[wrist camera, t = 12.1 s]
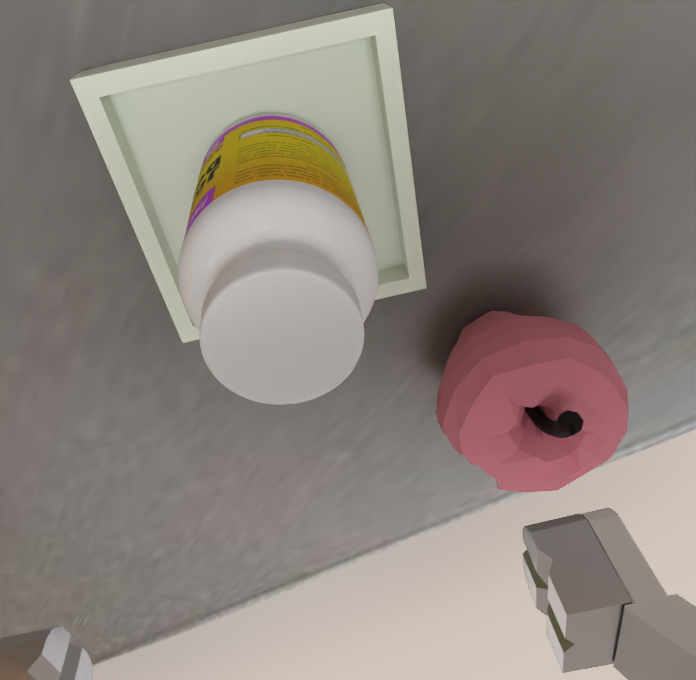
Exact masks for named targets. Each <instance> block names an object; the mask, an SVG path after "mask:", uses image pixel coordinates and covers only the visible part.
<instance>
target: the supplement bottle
mask: <svg viewBox="0 0 696 680" xmlns="http://www.w3.org/2000/svg"><path fill="white" fill-rule="evenodd" d="M378 277H379V276H378V261H377V256H376V252H375V249H374V245H373V242H372V239H371V236H370V234H369V231H368V229H367V226H366V224H365V221H364V218H363V215H362V213H361V210H360V207H359V204H358V201H357V198H356V196H355V193H354V190H353V187H352V184H351V182H350V178H349V175H348V173H347V170H346V168H345V165H344V163H343V160H342V158H341V156H340V154H339V152H338V151H337V149H336V147H335V146H334V145H333V143H332V142H331V141H330V139H329V138H328V137H327V136H326V135H325V134H323V133H322V132H321V131H320V130H319V129H318V128H316V127H315V126H313V125H311V124H310V123H308V122H306V121H304V120H302V119H300V118H297V117H294V116H290V115H285V114H277V113H266V114H258V115H254V116H250V117H247V118H244V119H242V120H239V121H238V122H236V123H234V124H232V125H231V126H229V127H228V128H227V129H225V130H224V131H223V132H222V133H221V134H220V135H219V136H218V137H217V138H216V139H215V140H214V142H213V143H212V145H211V146H210V148H209V149H208V151H207V153H206V155H205V158H204V160H203V164H202V166H201V170H200V174H199V178H198V182H197V186H196V190H195V193H194V198H193V203H192V206H191V210H190V215H189V220H188V224H187V228H186V233H185V237H184V241H183V245H182V249H181V253H180V258H179V265H178V283H179V291H180V295H181V299H182V302H183V305H184V307H185V309H186V312H187V314H188V315H189V317H190V319H191V321H192V322H193V324H194V325H195V326H196V328H197V329H198V330H199V332H200V339H199V341H200V347H201V351H202V355H203V358H204V360H205V362H206V364H207V366H208V368H209V370H210V371H211V372H212V374H213V375H214V376H215V377H216V379H217V380H218V381H219V382H220V383H221V384H223V385H224V386H225V387H226V388H228V389H229V390H231V391H233V392H234V393H236V394H238V395H240V396H242V397H244V398H247V399H250V400H252V401H256V402H260V403H266V404H274V405H276V404H295V403H301V402H305V401H308V400H312V399H315V398H317V397H319V396H322V395H324V394H326V393H328V392H329V391H331V390H332V389H334V388H336V387H337V386H338V385H339V384H340V383H342V382H343V381H344V380H345V379H346V378H347V377H348V376H349V374H350V373H351V372H352V371H353V369H354V368H355V366H356V364H357V362H358V360H359V358H360V355H361V353H362V350H363V344H364V324H363V323H364V322H365V320H366V318H367V317H368V315H369V313H370V311H371V309H372V306H373V304H374V301H375V297H376V293H377V287H378Z"/></svg>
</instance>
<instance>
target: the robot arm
mask: <svg viewBox="0 0 696 680" xmlns="http://www.w3.org/2000/svg"><path fill="white" fill-rule="evenodd" d="M523 541H524V543H525V545H526V548H527V550H526V551H525V552H524V553H523V566H524V571H525V576H526V581H527V583H528V587H529V590H530V593H531V596H532V598H533V601H534V603H535V606H536V608H537V609H538V610H540V611H541V612H542V613H544V614H545V615H546V616H547V636H548V638H549V641H550V643H551V645H552V648H553V650H554V653H555V655H556V658H557V660H558V662H559V665H560V667H561V670H562V672H563V673H565V672H570V671H575V670H580V669H587V668H592V667H598V666H603V665H608V664H614V667H615V668H616V669H617V670H618V671H619V672H620V673H621V674H622V675H624V676H625V677H626V678H627V679H628V680H696V607H695V606H694V605H692V604H691V603H689V602H688V601H686V600H685V599H683V598H682V597H680V596H678V595H677V594H676V595H669V596H667V594H666V592H665V591H664V589H663V587H662V586H661V584H660V583H659V581H658V579H657V578H656V576H655V574H654V573H653V571H652V569H651V568H650V566H649V564H648V563H647V561H646V560H645V558H644V556H643V555H642V553H641V551H640V550H639V548H638V547H637V545H636V543H635V542H634V540H633V538H632V537H631V535H630V533H629V532H628V530H627V529H626V527H625V525H624V524H623V522H622V520H621V519H620V517H619V516H618V514H617V513H616V512H615V511H614V510H612V509H610V508H605V509H601V510H596V511H592V512H588V513H583V514H575V515H571V516H567V517H562V518H559V519H554V520H549V521H545V522H541V523H537V524H532V525H528V526H525V527H524V528H523ZM70 637H71V634H70V633H69V632H68V631H67V630H66V629H65V628H64V627H63V626H57V627H52V628H47V629H42V630H38V631H33V632H28V633H23V634H18V635H14V636H9V637H1V638H0V680H93V666H92V663H91V660H90V657H89V655H88V654H87V652H86V651H85V650H84V649H83V648H82V647H79V646H76V645H73V644H70V643H69V641H70Z"/></svg>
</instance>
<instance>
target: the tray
mask: <svg viewBox="0 0 696 680" xmlns="http://www.w3.org/2000/svg"><path fill="white" fill-rule="evenodd" d="M70 82H71V84H72V86H73V89H74V91H75V93H76V96H77V98H78V100H79V103H80V105H81V107H82V110H83V112H84V114H85V117H86V119H87V121H88V124H89V126H90V128H91V131H92V133H93V135H94V138H95V140H96V142H97V145H98V147H99V149H100V152H101V154H102V156H103V159H104V161H105V163H106V166H107V168H108V170H109V173H110V175H111V177H112V180H113V182H114V184H115V187H116V189H117V191H118V194H119V196H120V198H121V201H122V203H123V205H124V208H125V210H126V212H127V215H128V217H129V219H130V222H131V224H132V226H133V229H134V231H135V233H136V236H137V238H138V240H139V243H140V245H141V247H142V250H143V252H144V254H145V257H146V259H147V261H148V264H149V266H150V268H151V271H152V273H153V275H154V278H155V280H156V282H157V285H158V287H159V289H160V292H161V294H162V296H163V299H164V301H165V303H166V306H167V308H168V310H169V312H170V315H171V317H172V319H173V322H174V324H175V326H176V329H177V331H178V333H179V336H180V338H181V340H182V343H185V342H189V341H194V340H198V339H200V332H199V330H198V329H197V328H196V326H195V325H194V324H193V322H192V321H191V319H190V317H189V315H188V314H187V312H186V309H185V307H184V305H183V302H182V299H181V295H180V291H179V283H178V265H179V258H180V253H181V249H182V245H183V241H184V237H185V233H186V228H187V224H188V220H189V215H190V210H191V206H192V203H193V198H194V193H195V190H196V186H197V182H198V178H199V174H200V170H201V166H202V164H203V160H204V158H205V155H206V153H207V151H208V149H209V148H210V146H211V145H212V143H213V142H214V140H215V139H216V138H217V137H218V136H219V135H220V134H221V133H222V132H223V131H224V130H225V129H227V128H228V127H229V126H231V125H232V124H234V123H236V122H238V121H239V120H242V119H244V118H247V117H250V116H254V115H258V114H266V113H277V114H285V115H290V116H294V117H297V118H300V119H302V120H304V121H306V122H308V123H310V124H311V125H313V126H315V127H316V128H318V129H319V130H320V131H321V132H322V133H323V134H325V135H326V136H327V137H328V138H329V139H330V141H331V142H332V143H333V145H334V146H335V147H336V149H337V151H338V152H339V154H340V156H341V158H342V160H343V163H344V165H345V168H346V170H347V173H348V175H349V178H350V182H351V184H352V187H353V190H354V193H355V196H356V198H357V201H358V204H359V207H360V210H361V213H362V215H363V218H364V221H365V224H366V226H367V229H368V231H369V234H370V236H371V239H372V242H373V245H374V249H375V252H376V256H377V261H378V276H379V277H378V287H377V293H376V297H375V300H377V299H382V298H386V297H391V296H395V295H400V294H404V293H409V292H413V291H417V290H422V289H426V288H427V287H426V279H425V271H424V263H423V254H422V246H421V238H420V229H419V221H418V213H417V204H416V196H415V188H414V179H413V171H412V163H411V155H410V146H409V138H408V130H407V121H406V113H405V105H404V96H403V88H402V80H401V71H400V63H399V55H398V47H397V38H396V30H395V22H394V13H393V7H391V6H389V5H387V4H385V3H380V4H375V5H371V6H367V7H362V8H358V9H353V10H349V11H344V12H340V13H335V14H331V15H326V16H322V17H318V18H313V19H309V20H304V21H300V22H295V23H291V24H286V25H282V26H277V27H273V28H268V29H264V30H260V31H255V32H251V33H246V34H242V35H237V36H233V37H228V38H224V39H219V40H215V41H211V42H206V43H202V44H197V45H193V46H188V47H184V48H179V49H175V50H170V51H166V52H161V53H157V54H153V55H148V56H144V57H139V58H135V59H130V60H126V61H121V62H117V63H112V64H108V65H104V66H99V67H95V68H90V69H86V70H82V71H81V72H80V73H78V74H77V75H76V76H74V77H73V78H72V79H71V80H70Z"/></svg>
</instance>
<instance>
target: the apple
mask: <svg viewBox="0 0 696 680" xmlns="http://www.w3.org/2000/svg"><path fill="white" fill-rule="evenodd" d="M436 413H437V418H438V423H439V425H440V427H441V429H442V431H443V433H444V434H445V435H446V436H447V438H448V439H449V441H450V442H451V444H452V445H453V448H454V450H456V451H458V452H460V454H461V455H462V456H463V457H465V458H467V459H468V460H469V461H470V463H471V464H474V465H478V466H480V467H482V468H483V469H484V471H485V473H486V475H491V476H492V477H494V478H495V479H496V481H497V489H500V490H510V491H520V492H536V491H552V490H558V489H560V488H562V487H563V486H565V485H567V484H569V483H570V482H572V481H574V480H575V479H577V478H579V477H580V476H582V475H584V474H585V473H587V472H589V471H590V470H592V469H594V468H595V467H597V466H598V465H600V464H601V463H603V462H605V461H606V460H608V459H609V458H611V456H612V455H613V453H614V451H615V449H616V448H617V446H618V444H619V443H620V441H621V439H622V437H623V436H624V434H625V432H626V431H627V419H628V397H627V389H626V387H625V385H624V383H623V381H622V379H621V377H620V375H619V373H618V372H617V370H616V368H615V366H614V364H613V363H612V361H611V360H610V358H609V357H608V355H607V354H606V353H605V352H604V350H603V349H602V348H601V347H600V346H599V345H598V344H597V342H596V341H595V340H594V339H593V338H592V337H591V336H590V334H588V333H587V332H585V331H584V330H583V329H581V328H580V327H578V326H577V325H575V324H572V323H569V322H565V321H562V320H558V319H554V318H551V317H543V316H524V315H516V314H514V313H511V312H507V311H490V312H488V313H486V314H484V315H483V316H481V317H479V318H477V319H476V320H474V321H473V322H471V323H470V324H468V325H467V326H465V327H464V328H463V329H462V331H461V333H460V335H459V339H458V342H457V343H456V345H455V346H454V348H453V349H452V351H451V353H450V356H449V358H448V361H447V364H446V367H445V370H444V374H443V377H442V380H441V384H440V387H439V390H438V398H437V410H436Z"/></svg>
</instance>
